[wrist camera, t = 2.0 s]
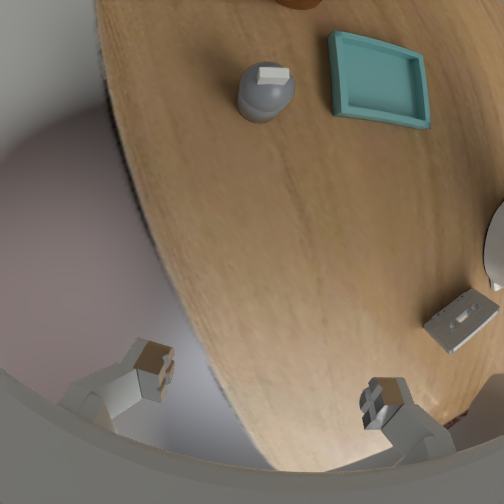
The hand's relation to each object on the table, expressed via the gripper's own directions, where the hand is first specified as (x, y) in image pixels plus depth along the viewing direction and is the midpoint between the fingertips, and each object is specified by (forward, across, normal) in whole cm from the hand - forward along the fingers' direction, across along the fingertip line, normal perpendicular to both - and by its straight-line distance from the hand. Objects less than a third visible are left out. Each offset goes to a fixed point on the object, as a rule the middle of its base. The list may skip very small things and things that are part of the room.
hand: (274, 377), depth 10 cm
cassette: (+25, +31, -9) cm, 41 cm away
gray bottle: (+22, -4, +12) cm, 25 cm away
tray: (+24, +9, +18) cm, 32 cm away
